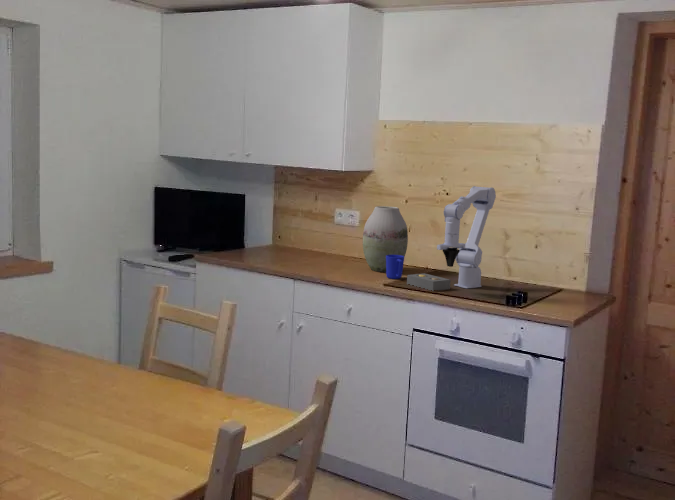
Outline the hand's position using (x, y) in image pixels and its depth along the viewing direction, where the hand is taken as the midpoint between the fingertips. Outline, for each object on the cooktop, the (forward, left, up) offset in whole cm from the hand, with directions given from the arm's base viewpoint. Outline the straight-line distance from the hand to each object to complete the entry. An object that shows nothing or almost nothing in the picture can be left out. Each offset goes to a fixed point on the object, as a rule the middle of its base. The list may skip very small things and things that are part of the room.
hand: (449, 266), depth 300 cm
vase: (-8, -51, -11) cm, 53 cm away
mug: (+2, -31, -11) cm, 33 cm away
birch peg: (+1, -7, -10) cm, 12 cm away
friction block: (+1, -11, -10) cm, 15 cm away
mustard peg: (+1, -15, -10) cm, 18 cm away
